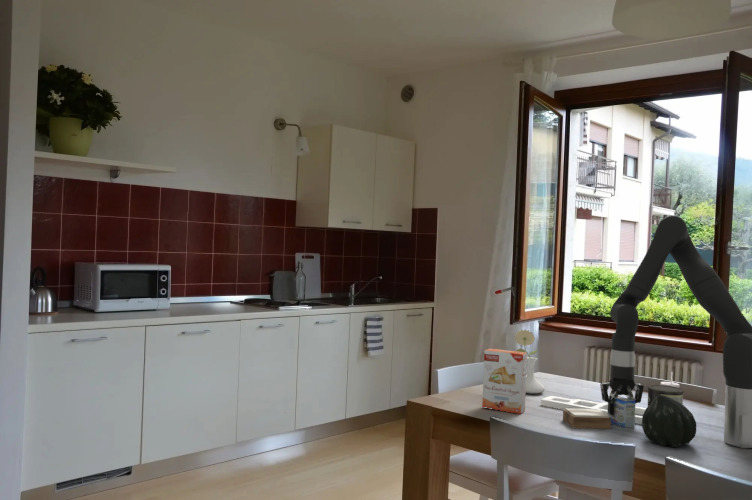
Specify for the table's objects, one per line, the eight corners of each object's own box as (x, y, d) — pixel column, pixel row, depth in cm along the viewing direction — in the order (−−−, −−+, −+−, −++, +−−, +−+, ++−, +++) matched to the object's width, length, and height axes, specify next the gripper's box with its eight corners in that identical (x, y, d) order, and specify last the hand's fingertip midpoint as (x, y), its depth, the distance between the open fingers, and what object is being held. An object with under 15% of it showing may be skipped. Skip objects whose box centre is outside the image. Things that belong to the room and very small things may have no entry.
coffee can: (642, 432, 197) (643, 387, 197) (651, 426, 205) (653, 383, 205) (677, 439, 191) (678, 393, 191) (686, 432, 199) (687, 388, 199)
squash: (716, 431, 181) (684, 385, 189) (684, 439, 173) (652, 391, 182) (682, 453, 190) (653, 408, 199) (650, 461, 183) (621, 415, 191)
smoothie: (680, 412, 226) (682, 373, 226) (661, 411, 227) (663, 372, 227) (676, 408, 232) (677, 370, 232) (657, 407, 234) (658, 369, 234)
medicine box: (606, 421, 209) (607, 395, 209) (616, 420, 211) (617, 394, 211) (625, 428, 202) (625, 401, 202) (635, 426, 204) (635, 400, 204)
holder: (540, 406, 230) (540, 399, 230) (560, 399, 244) (560, 392, 244) (671, 431, 201) (671, 423, 201) (685, 421, 215) (686, 413, 215)
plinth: (610, 428, 200) (610, 416, 200) (573, 428, 200) (574, 415, 200) (598, 420, 210) (598, 408, 210) (562, 419, 210) (563, 407, 210)
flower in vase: (548, 392, 254) (550, 330, 254) (539, 397, 244) (541, 332, 244) (517, 387, 261) (519, 327, 261) (507, 392, 251) (509, 329, 251)
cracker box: (481, 408, 221) (483, 349, 221) (486, 405, 227) (488, 347, 227) (521, 414, 215) (522, 353, 215) (525, 411, 220) (527, 351, 220)
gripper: (605, 365, 203) (604, 417, 202) (649, 366, 203) (647, 418, 203) (596, 361, 210) (595, 411, 210) (638, 362, 211) (637, 412, 211)
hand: (621, 414), depth 206 cm, fingers closed on medicine box, 5 cm apart
